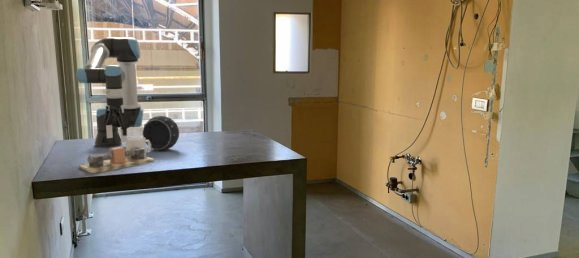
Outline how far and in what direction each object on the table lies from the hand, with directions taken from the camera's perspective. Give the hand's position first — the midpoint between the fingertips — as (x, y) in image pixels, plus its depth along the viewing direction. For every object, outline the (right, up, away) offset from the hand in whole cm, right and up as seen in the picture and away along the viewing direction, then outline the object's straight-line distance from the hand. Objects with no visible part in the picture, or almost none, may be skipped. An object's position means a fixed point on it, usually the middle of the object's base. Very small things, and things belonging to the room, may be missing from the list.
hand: (116, 140), depth 216 cm
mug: (+4, -10, +20) cm, 23 cm away
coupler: (0, -11, +1) cm, 11 cm away
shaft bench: (0, -12, +2) cm, 13 cm away
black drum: (+11, -7, +37) cm, 39 cm away
